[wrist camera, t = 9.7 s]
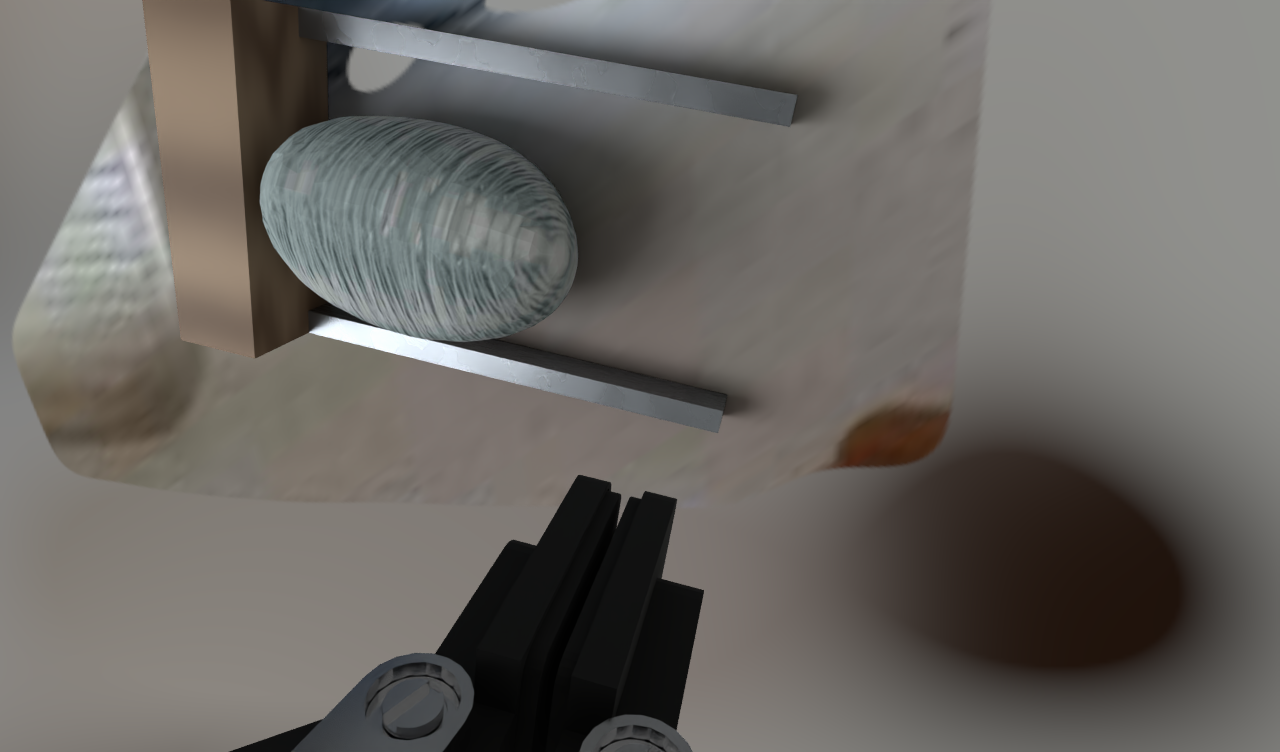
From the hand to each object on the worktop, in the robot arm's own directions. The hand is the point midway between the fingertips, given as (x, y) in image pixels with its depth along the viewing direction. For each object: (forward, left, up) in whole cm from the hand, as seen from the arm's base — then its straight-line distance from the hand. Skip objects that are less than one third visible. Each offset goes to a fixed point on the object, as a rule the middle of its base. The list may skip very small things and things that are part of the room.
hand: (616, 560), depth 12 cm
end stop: (0, -23, -23) cm, 33 cm away
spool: (+1, -14, -24) cm, 27 cm away
